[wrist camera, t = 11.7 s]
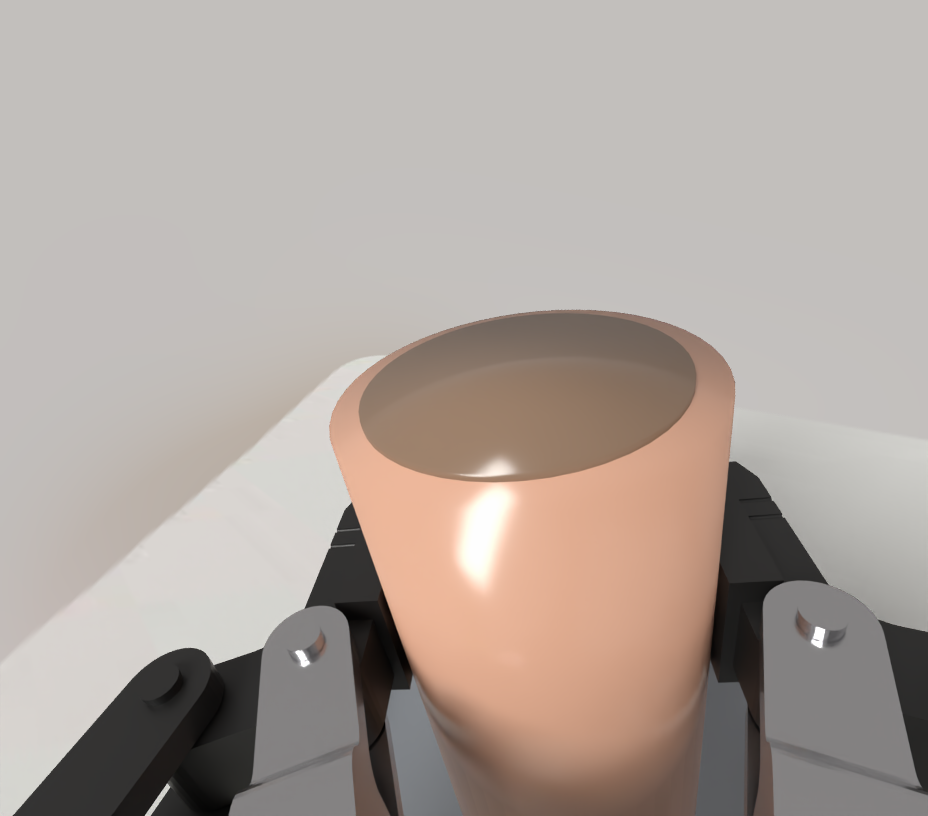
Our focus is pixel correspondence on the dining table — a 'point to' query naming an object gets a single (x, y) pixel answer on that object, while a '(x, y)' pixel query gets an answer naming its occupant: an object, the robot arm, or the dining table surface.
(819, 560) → the dining table surface
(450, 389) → the cup
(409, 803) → the tray
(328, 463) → the dining table surface
